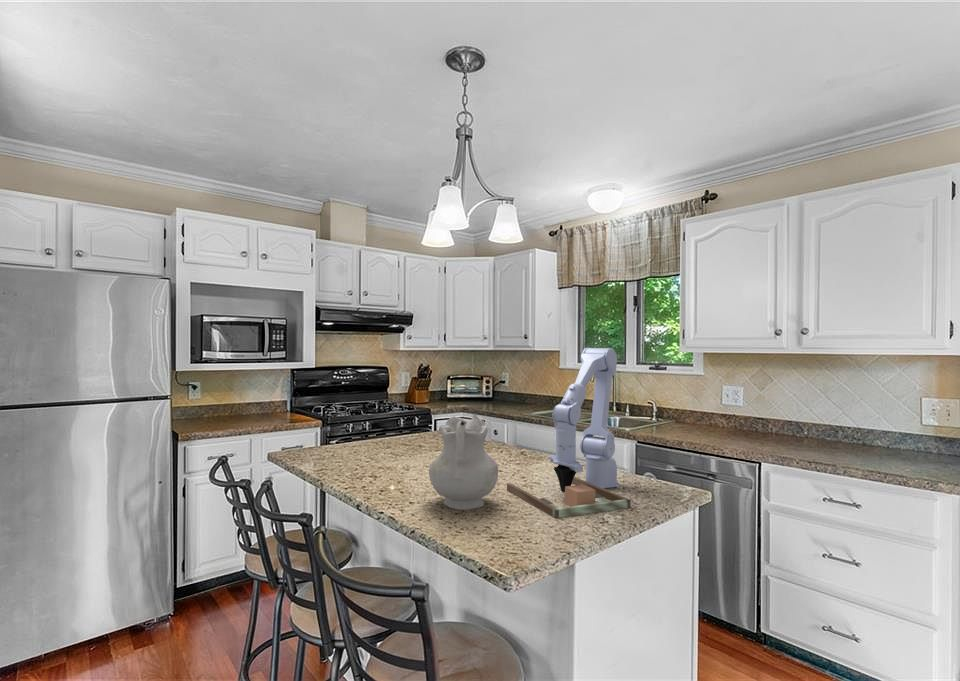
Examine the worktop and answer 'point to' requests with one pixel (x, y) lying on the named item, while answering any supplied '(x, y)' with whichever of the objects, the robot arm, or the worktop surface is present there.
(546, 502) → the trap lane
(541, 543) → the worktop surface
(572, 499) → the block
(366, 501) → the worktop surface
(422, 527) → the worktop surface
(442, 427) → the ceramic pitcher
